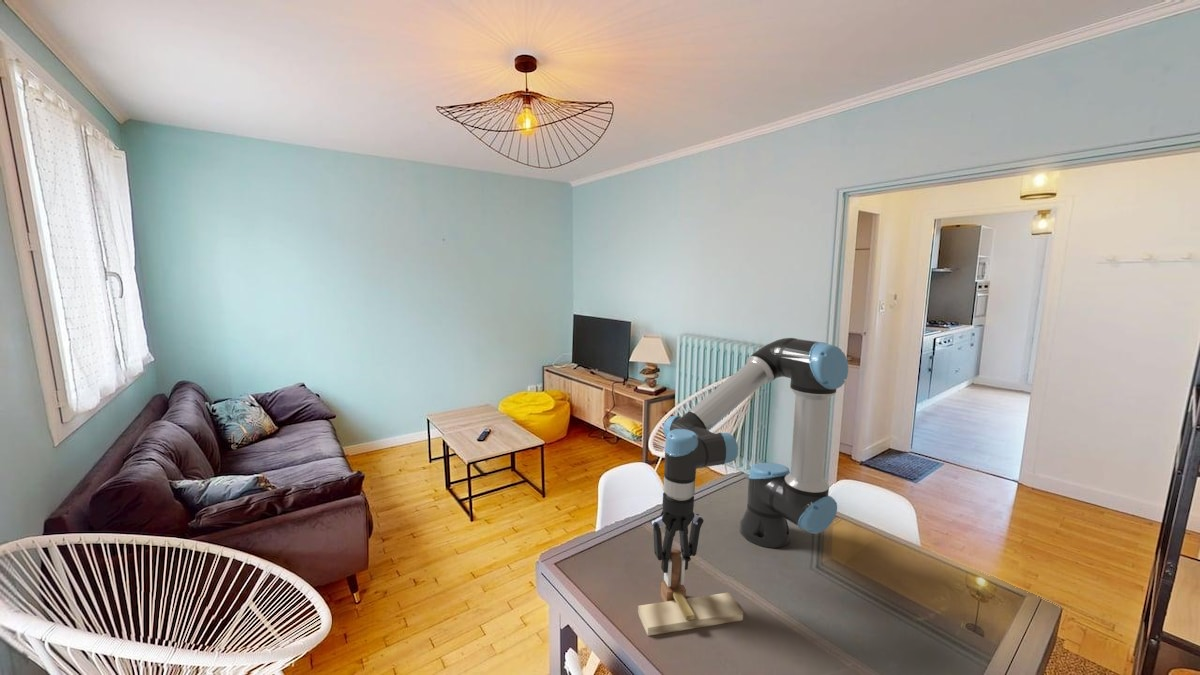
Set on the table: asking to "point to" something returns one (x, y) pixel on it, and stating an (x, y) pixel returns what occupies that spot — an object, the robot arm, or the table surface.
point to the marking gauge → (676, 587)
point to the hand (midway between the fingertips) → (673, 581)
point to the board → (704, 608)
